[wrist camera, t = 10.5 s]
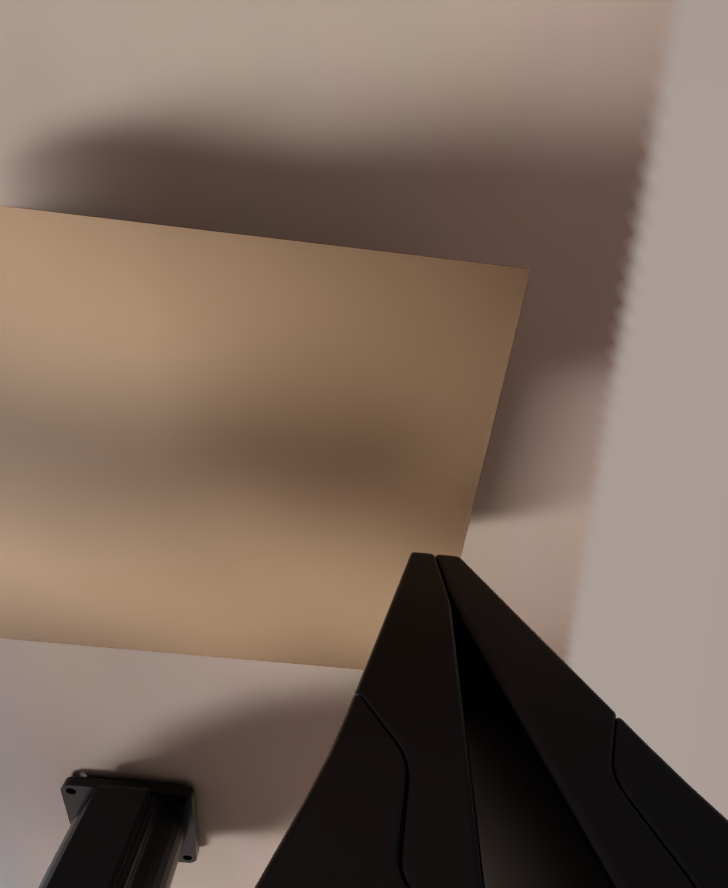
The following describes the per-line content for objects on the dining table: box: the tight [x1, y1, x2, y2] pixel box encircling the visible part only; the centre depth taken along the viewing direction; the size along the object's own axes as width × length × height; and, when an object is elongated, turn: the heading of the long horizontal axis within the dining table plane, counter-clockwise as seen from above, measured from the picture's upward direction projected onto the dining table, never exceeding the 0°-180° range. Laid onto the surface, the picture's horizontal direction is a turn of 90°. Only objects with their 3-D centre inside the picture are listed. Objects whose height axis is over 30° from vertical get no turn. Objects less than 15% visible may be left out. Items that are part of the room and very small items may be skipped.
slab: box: [0, 206, 531, 670], centre depth 10 cm, size 10×14×2 cm
